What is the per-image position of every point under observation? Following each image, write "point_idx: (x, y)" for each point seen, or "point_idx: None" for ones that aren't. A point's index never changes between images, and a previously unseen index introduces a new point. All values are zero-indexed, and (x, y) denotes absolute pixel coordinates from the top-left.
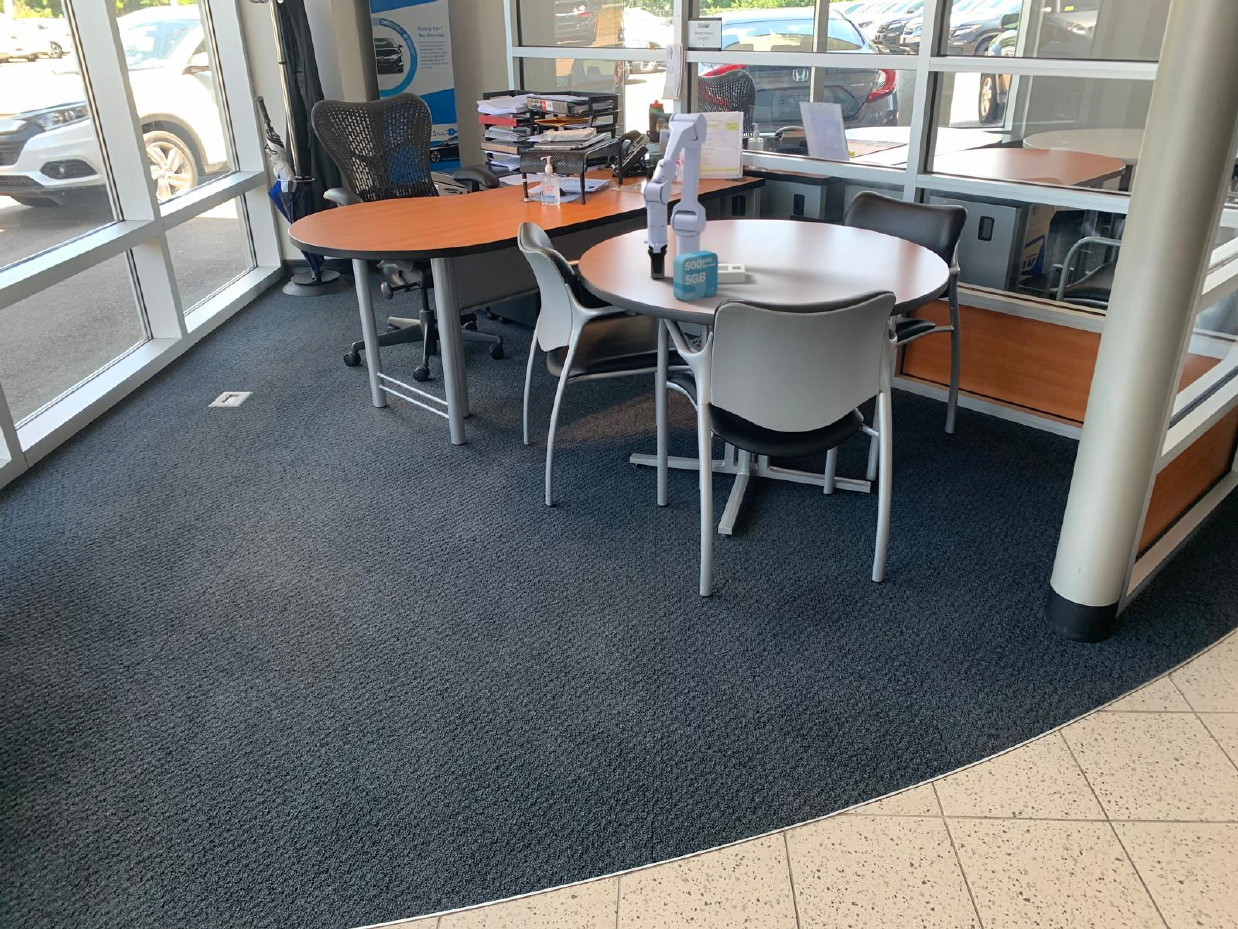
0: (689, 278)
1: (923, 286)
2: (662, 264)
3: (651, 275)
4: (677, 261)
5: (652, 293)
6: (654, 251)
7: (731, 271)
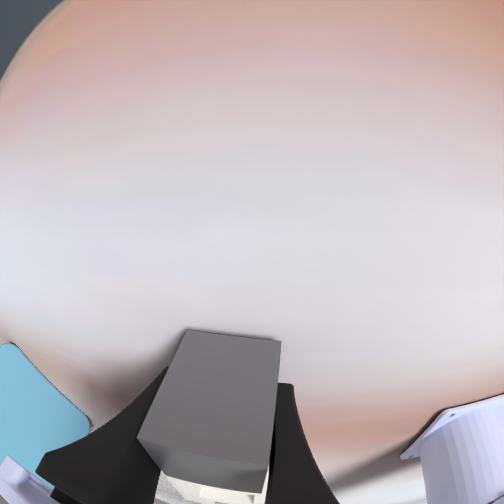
0: None
1: None
2: None
3: (182, 343)
4: None
5: (13, 291)
6: (7, 462)
7: (189, 495)
